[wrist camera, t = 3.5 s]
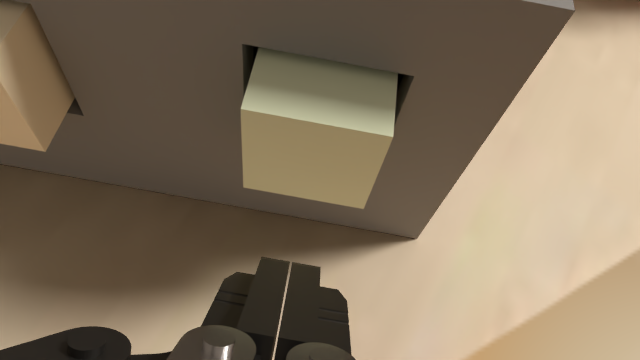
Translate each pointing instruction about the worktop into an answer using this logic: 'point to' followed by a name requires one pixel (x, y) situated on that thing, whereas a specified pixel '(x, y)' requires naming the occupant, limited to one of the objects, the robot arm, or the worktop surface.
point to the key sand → (29, 80)
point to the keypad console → (233, 76)
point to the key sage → (316, 127)
